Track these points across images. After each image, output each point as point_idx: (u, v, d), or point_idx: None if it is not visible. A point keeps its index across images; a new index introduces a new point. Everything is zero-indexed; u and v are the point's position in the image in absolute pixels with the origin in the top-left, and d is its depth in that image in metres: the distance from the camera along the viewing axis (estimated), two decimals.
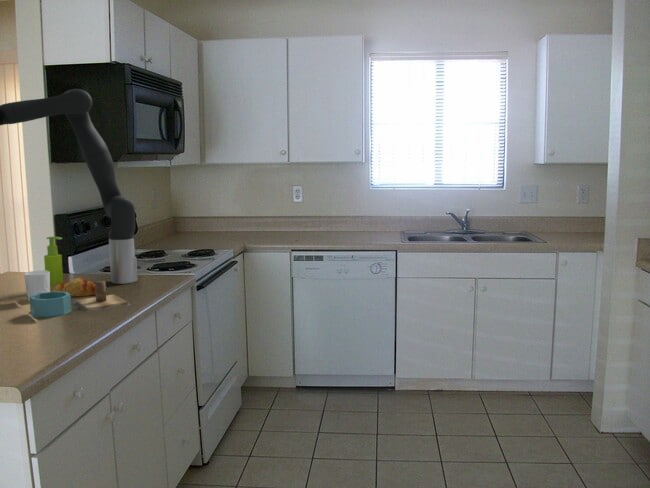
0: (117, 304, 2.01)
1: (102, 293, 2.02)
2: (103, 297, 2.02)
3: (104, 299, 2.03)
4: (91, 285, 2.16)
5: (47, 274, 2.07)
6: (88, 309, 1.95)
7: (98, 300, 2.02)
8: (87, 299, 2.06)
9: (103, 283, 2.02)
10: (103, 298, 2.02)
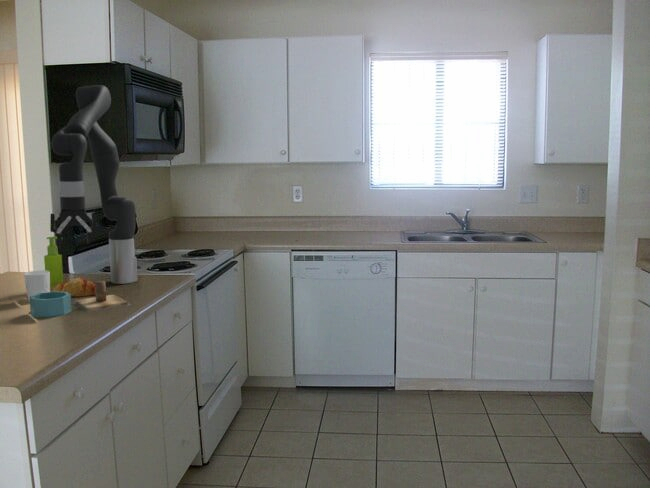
0: (117, 304, 2.01)
1: (102, 293, 2.02)
2: (103, 297, 2.02)
3: (104, 299, 2.03)
4: (91, 285, 2.16)
5: (47, 274, 2.07)
6: (88, 309, 1.95)
7: (98, 300, 2.02)
8: (87, 299, 2.06)
9: (103, 283, 2.02)
10: (103, 298, 2.02)
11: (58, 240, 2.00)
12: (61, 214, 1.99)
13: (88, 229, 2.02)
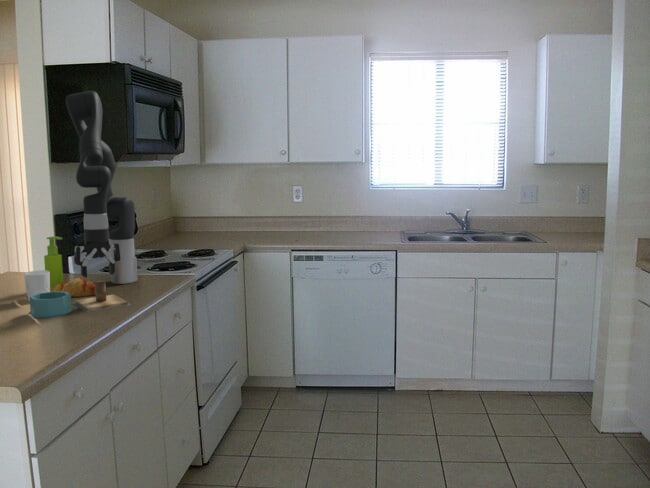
0: (117, 304, 2.01)
1: (102, 293, 2.02)
2: (103, 297, 2.02)
3: (104, 299, 2.03)
4: (90, 285, 2.16)
5: (47, 274, 2.07)
6: (88, 309, 1.95)
7: (98, 300, 2.02)
8: (87, 299, 2.06)
9: (103, 283, 2.02)
10: (103, 298, 2.02)
11: (83, 273, 1.98)
12: (86, 246, 1.98)
13: (112, 260, 2.03)
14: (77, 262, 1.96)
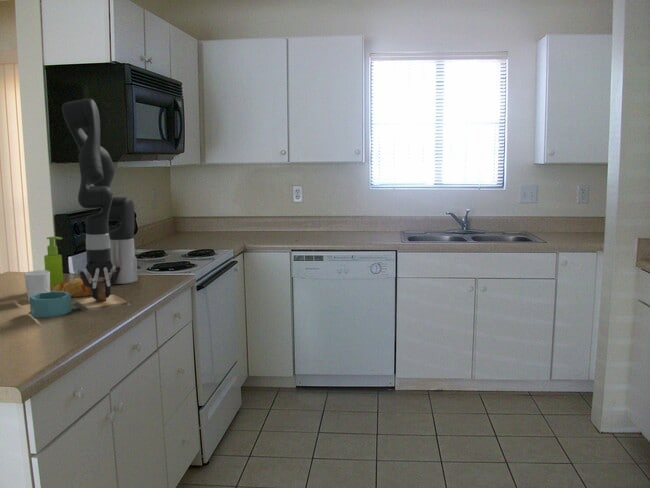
0: (117, 304, 2.01)
1: (102, 293, 2.02)
2: (103, 297, 2.02)
3: (104, 299, 2.03)
4: None
5: (47, 274, 2.07)
6: (88, 309, 1.95)
7: (98, 300, 2.02)
8: (87, 299, 2.06)
9: (103, 283, 2.02)
10: (103, 298, 2.02)
11: (93, 295, 2.01)
12: (88, 267, 1.99)
13: (107, 283, 2.03)
14: (87, 285, 1.99)
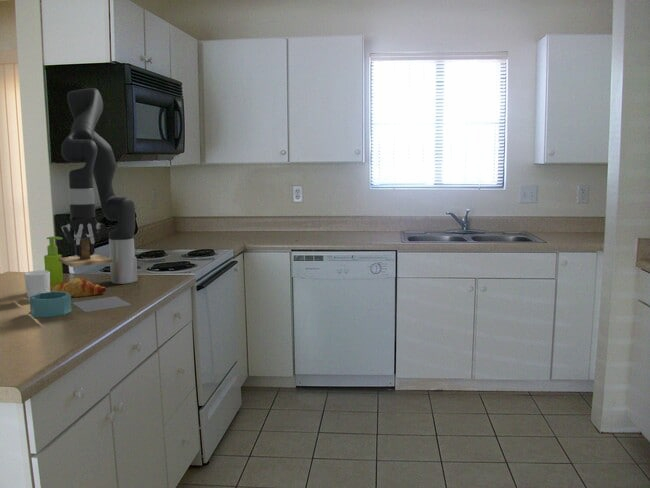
0: (101, 261, 1.95)
1: (86, 250, 1.96)
2: (87, 254, 1.97)
3: (88, 257, 1.97)
4: (90, 285, 2.15)
5: (47, 274, 2.07)
6: (71, 265, 1.89)
7: (82, 257, 1.96)
8: (71, 257, 2.00)
9: (87, 240, 1.96)
10: (87, 255, 1.97)
11: (77, 252, 1.96)
12: (72, 223, 1.93)
13: (91, 240, 1.97)
14: (70, 241, 1.93)
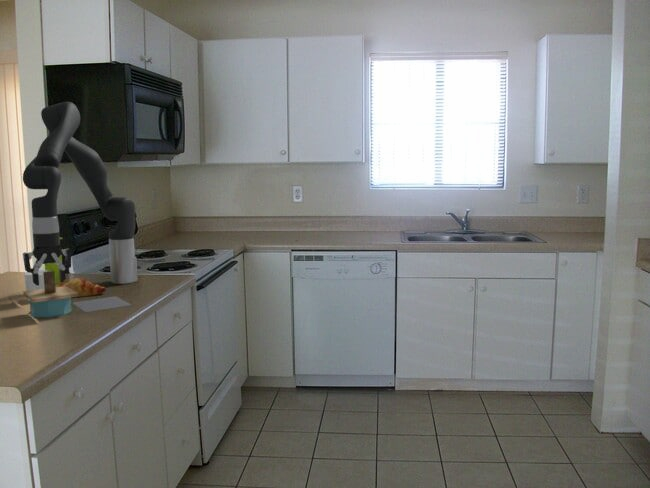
0: (66, 296, 1.89)
1: (51, 284, 1.91)
2: (52, 288, 1.91)
3: (53, 290, 1.92)
4: (89, 285, 2.15)
5: None
6: (34, 301, 1.84)
7: (46, 291, 1.91)
8: (36, 291, 1.94)
9: (52, 273, 1.91)
10: (52, 289, 1.91)
11: (35, 280, 1.89)
12: (35, 252, 1.87)
13: (62, 267, 1.93)
14: (28, 269, 1.86)
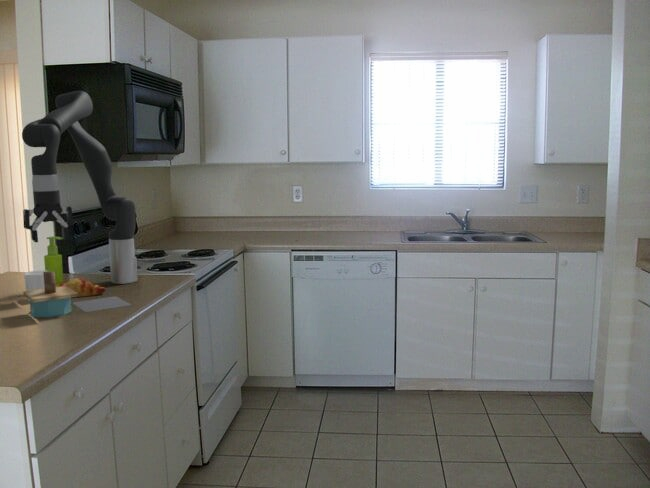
0: (66, 296, 1.89)
1: (51, 284, 1.91)
2: (52, 288, 1.91)
3: (53, 290, 1.92)
4: (89, 286, 2.15)
5: None
6: (34, 301, 1.84)
7: (46, 291, 1.91)
8: (36, 291, 1.94)
9: (52, 273, 1.91)
10: (52, 289, 1.91)
11: (33, 237, 1.89)
12: (36, 210, 1.88)
13: (64, 224, 1.94)
14: (26, 226, 1.87)
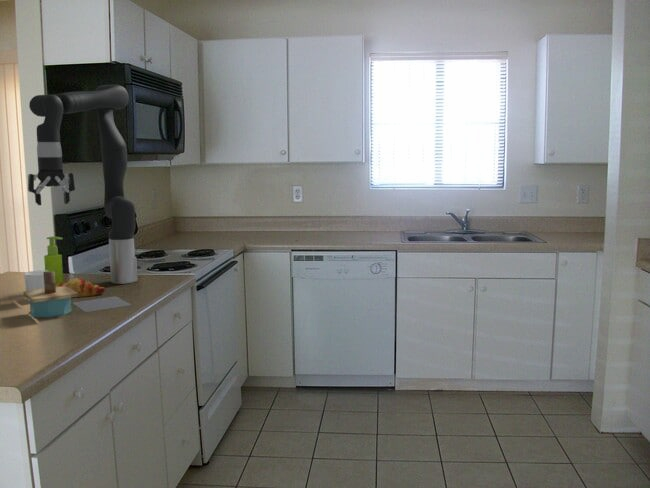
0: (66, 296, 1.89)
1: (51, 284, 1.91)
2: (52, 288, 1.91)
3: (53, 290, 1.92)
4: (89, 286, 2.15)
5: None
6: (34, 301, 1.84)
7: (46, 291, 1.91)
8: (36, 291, 1.94)
9: (52, 273, 1.91)
10: (52, 289, 1.91)
11: (37, 200, 2.03)
12: (40, 174, 2.02)
13: (66, 189, 2.08)
14: (31, 189, 2.01)
